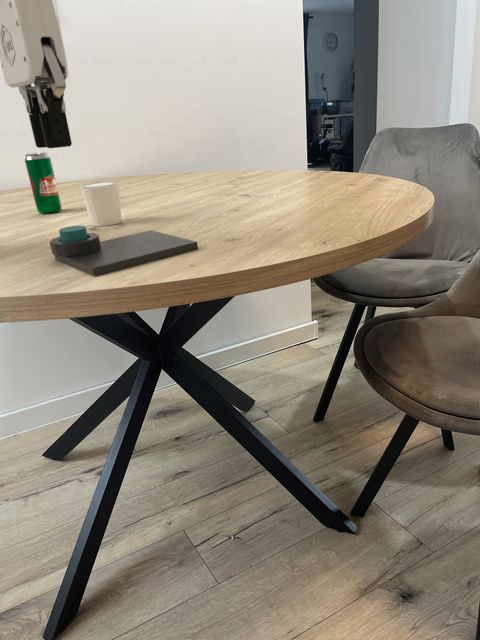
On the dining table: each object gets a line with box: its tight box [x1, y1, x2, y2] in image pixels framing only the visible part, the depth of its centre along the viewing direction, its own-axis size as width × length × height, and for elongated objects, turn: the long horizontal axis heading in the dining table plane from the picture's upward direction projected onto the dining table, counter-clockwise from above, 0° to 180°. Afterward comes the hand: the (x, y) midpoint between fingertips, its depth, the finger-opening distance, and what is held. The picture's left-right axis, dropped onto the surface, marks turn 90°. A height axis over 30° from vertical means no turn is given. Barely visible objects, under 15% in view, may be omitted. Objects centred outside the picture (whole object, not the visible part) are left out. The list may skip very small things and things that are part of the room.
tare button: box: [58, 225, 88, 242], centre depth 72 cm, size 4×4×2 cm
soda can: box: [24, 151, 63, 215], centre depth 108 cm, size 5×5×12 cm
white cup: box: [79, 181, 123, 227], centre depth 95 cm, size 7×7×7 cm
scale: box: [49, 229, 199, 278], centre depth 73 cm, size 17×14×3 cm
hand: (53, 145), depth 67 cm, fingers closed
